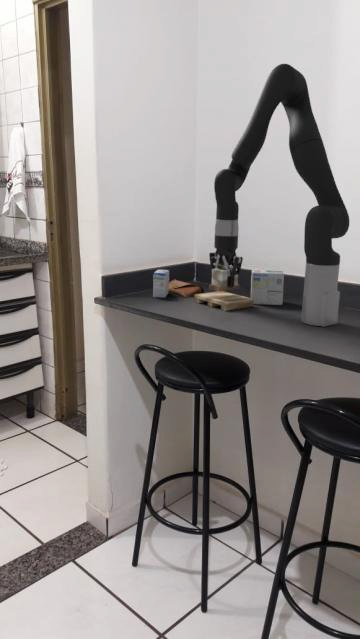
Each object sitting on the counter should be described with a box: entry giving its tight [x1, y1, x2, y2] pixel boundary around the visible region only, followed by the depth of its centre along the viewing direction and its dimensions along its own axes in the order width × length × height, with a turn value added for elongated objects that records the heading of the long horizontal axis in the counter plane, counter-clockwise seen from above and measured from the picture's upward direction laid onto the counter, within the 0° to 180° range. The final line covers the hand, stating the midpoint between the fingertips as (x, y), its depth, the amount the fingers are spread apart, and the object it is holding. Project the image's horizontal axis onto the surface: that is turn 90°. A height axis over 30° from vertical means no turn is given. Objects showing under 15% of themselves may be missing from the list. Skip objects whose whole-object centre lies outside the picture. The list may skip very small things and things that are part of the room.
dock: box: [193, 291, 254, 312], centre depth 170 cm, size 16×12×2 cm
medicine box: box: [152, 269, 170, 299], centre depth 182 cm, size 8×4×9 cm, turn 172°
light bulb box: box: [250, 269, 285, 306], centre depth 173 cm, size 11×7×11 cm, turn 84°
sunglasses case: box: [168, 278, 205, 299], centre depth 188 cm, size 18×7×7 cm
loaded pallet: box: [208, 267, 240, 292], centre depth 169 cm, size 5×9×7 cm, turn 128°
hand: (224, 285), depth 169 cm, fingers closed on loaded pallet, 5 cm apart
